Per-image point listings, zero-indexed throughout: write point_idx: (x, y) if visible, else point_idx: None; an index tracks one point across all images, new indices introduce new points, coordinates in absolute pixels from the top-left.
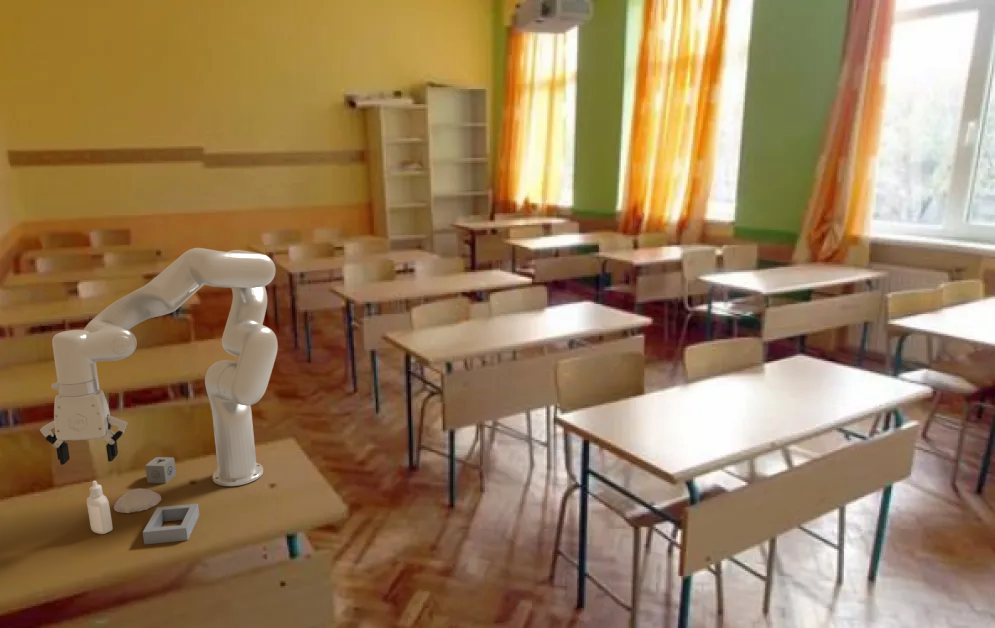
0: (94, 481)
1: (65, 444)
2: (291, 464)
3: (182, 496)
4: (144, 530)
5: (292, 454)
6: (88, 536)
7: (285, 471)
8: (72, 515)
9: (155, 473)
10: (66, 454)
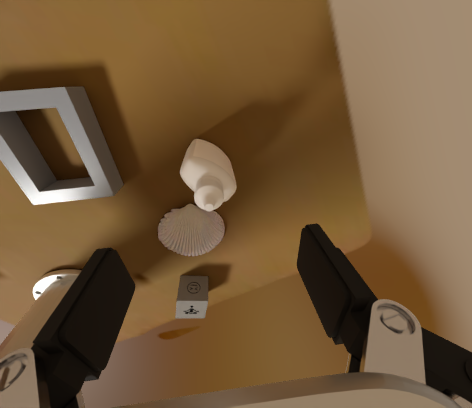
0: (208, 206)
1: (336, 330)
2: (18, 316)
3: (130, 246)
4: (66, 96)
5: None
6: (222, 134)
7: (10, 302)
8: (278, 203)
9: (193, 289)
10: (311, 275)
